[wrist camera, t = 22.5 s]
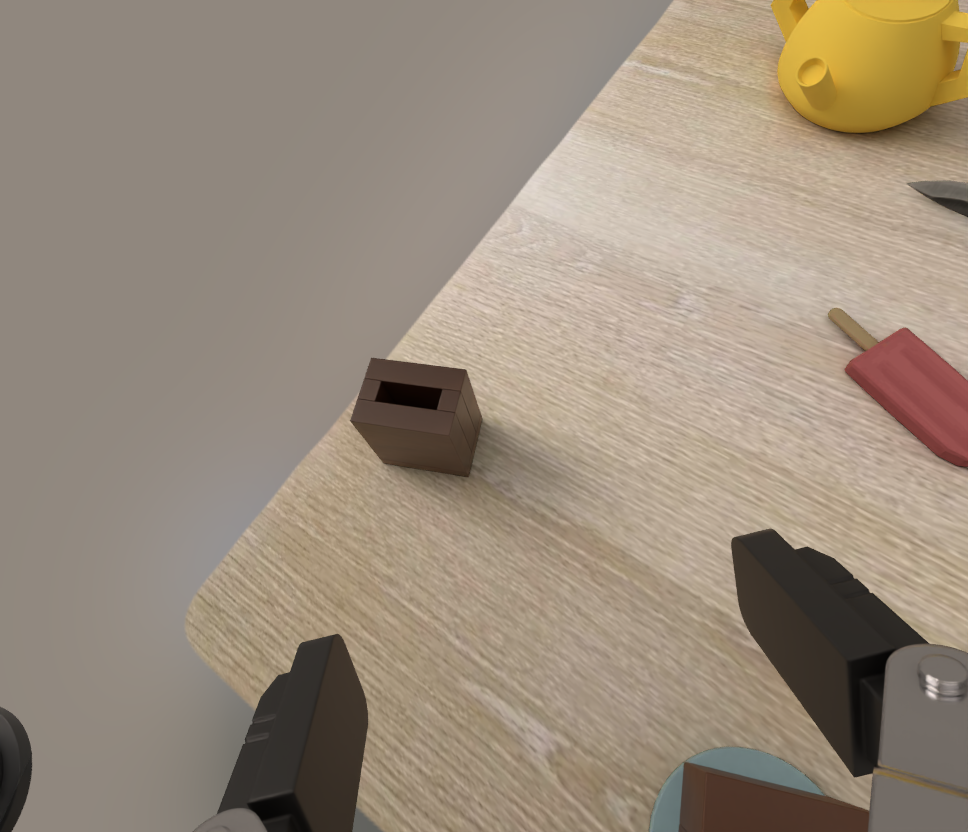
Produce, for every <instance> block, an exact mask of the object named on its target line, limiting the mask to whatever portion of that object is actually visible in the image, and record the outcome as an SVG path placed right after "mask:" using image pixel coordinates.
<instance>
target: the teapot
mask: <svg viewBox="0 0 968 832" xmlns="http://www.w3.org/2000/svg"><path fill="white" fill-rule="evenodd" d="M771 8H772V10H773V12H774V15H775V17H776V19H777V22H778V24H779V26H780V29H781V31H782V34H783V36H784V38H785V41H786V44H785V46H784V48H783V51H782V53H781V56H780V59H779V63H778V79H779V84H780V87H781V89H782V91H783V93H784V94H785V96H786V98H787V99H788V101H789V102H790V104H791V105H792V106H793V107H794V108H795V110H796V111H797V112H798V113H799V114H801V115H802V116H803V117H805V118H806V119H807V120H809V121H811V122H813V123H815V124H817V125H819V126H822V127H824V128H828V129H831V130H835V131H840V132H848V133H867V132H875V131H879V130H883V129H886V128H890V127H893V126H896V125H899V124H901V123H904V122H906V121H908V120H910V119H912V118H914V117H916V116H918V115H920V114H921V113H923V112H924V111H926V110H927V109H928V108H929V107H931V106H935V105H939V104H943V103H947V102H951V101H955V100H959V99H963V98H967V97H968V50H967V53H966V56H965V59H964V62H963V65H962V68H961V70H957V71H954V68H955V65H956V62H957V58H958V54H959V48H960V42H966V43H968V13H963V12H959V5H958V0H817V1H816V2H815V3H814V4H813V5H812V6H811V7H810V8H809V9H808V6H807V4H806V2H805V0H773V2H772V4H771Z"/></svg>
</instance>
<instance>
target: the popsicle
mask: <svg viewBox="0 0 968 832" xmlns="http://www.w3.org/2000/svg"><path fill="white" fill-rule="evenodd" d="M828 317H829V318H830V319H831V320H832V321H833V322H834V323H835V324H836V325H837V326H838V327H840V328H841V329H842V330H843V331H844V332H845V333H846V334H847V335H848V336H850V337H851V338H852V339H853V340H854V341H855V342H856V343H857V344H858V345H859V346H861V347H862V348H863V349H864V350H865V352H864V353H862V354H860V355H859V356H857V357H856V358H854V359H853V360H851V361H850V363H849V364H848V365H847V367H846V368H845V371H846V373H847V374H848V375H849V376H850V377H851V378H852V379H853V380H855V381H856V382H857V383H858V384H859V385H860V386H861V387H862V388H863V389H864V390H865V391H866V392H867V393H869V394H870V395H871V396H872V397H873V398H874V399H875V400H876V401H877V402H878V403H879V404H880V405H881V406H883V407H884V408H885V409H886V410H887V411H888V412H889V413H890V414H891V415H892V416H894V417H895V418H896V419H897V420H898V421H899V422H900V423H901V424H903V425H904V426H905V427H906V428H907V429H908V430H909V431H910V432H912V433H913V434H914V435H915V436H916V437H917V438H918V439H919V440H920V441H922V442H923V443H924V444H925V445H926V446H927V447H928V448H929V449H931V450H932V451H933V452H934V453H935V454H936V455H937V456H939V457H941V458H943V459H945V460H947V461H949V462H951V463H953V464H955V465H957V466H964V467H968V381H967V380H966V379H965V378H964V377H963V376H962V375H961V374H959V373H958V372H957V371H956V370H955V369H954V368H953V367H952V366H951V365H949V364H948V363H947V362H946V361H945V360H944V359H942V358H941V357H940V356H939V355H938V354H937V353H935V352H934V351H933V350H932V349H931V348H930V347H929V346H927V345H926V344H925V343H924V342H923V341H922V340H920V339H919V338H918V337H917V336H916V335H915V334H913V333H912V332H911V331H910V330H909V329H908V328H902V329H900V330H898V331H896V332H895V333H893V334H892V335H890V336H889V337H887V338H885V339H884V340H882V341H881V342H878V341H877V340H876V339H875V338H873V337H872V336H871V335H870V334H869V333H868V332H867V331H866V330H864V329H863V328H862V327H861V326H860V325H859V324H858V323H856V322H855V321H854V320H853V319H852V318H851V317H850V316H849V315H847V314H846V313H845V312H844V311H843V310H842V309H840V308H833V309H832V310H830V312H829V313H828Z"/></svg>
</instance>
